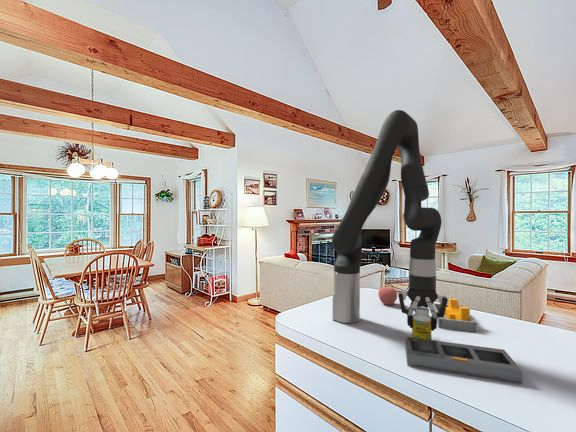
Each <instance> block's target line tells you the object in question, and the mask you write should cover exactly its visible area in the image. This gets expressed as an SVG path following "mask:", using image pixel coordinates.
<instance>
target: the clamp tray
mask: <svg viewBox="0 0 576 432" xmlns="http://www.w3.org/2000/svg"><path fill="white" fill-rule="evenodd" d="M432 305H433V308H434V310H435V312H438V311H439V307H440V303H435V302H434V303H433V304H432ZM458 306H459V307H464V305H459V304H458ZM446 307H448V303H447V306H446ZM437 328H440V329H447V330H455V331H464V332H471V333H472V332H473V333H477V322H476V321H475V319H474V317H472V315H470V321H463V320H454V319H447V318H444V317H439V318H437Z"/></svg>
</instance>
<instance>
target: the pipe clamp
mask: <svg viewBox="0 0 576 432" xmlns="http://www.w3.org/2000/svg"><path fill="white" fill-rule="evenodd" d="M447 304H448V307H446V310H445V314H444V317H445V319H454V320H463V321H470V316H471V312H470V311H471V308H469V307H468V306H463V307H459V306H460V305H459V300H458V299H457V298H448V301H447ZM458 305H459V306H458Z"/></svg>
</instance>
